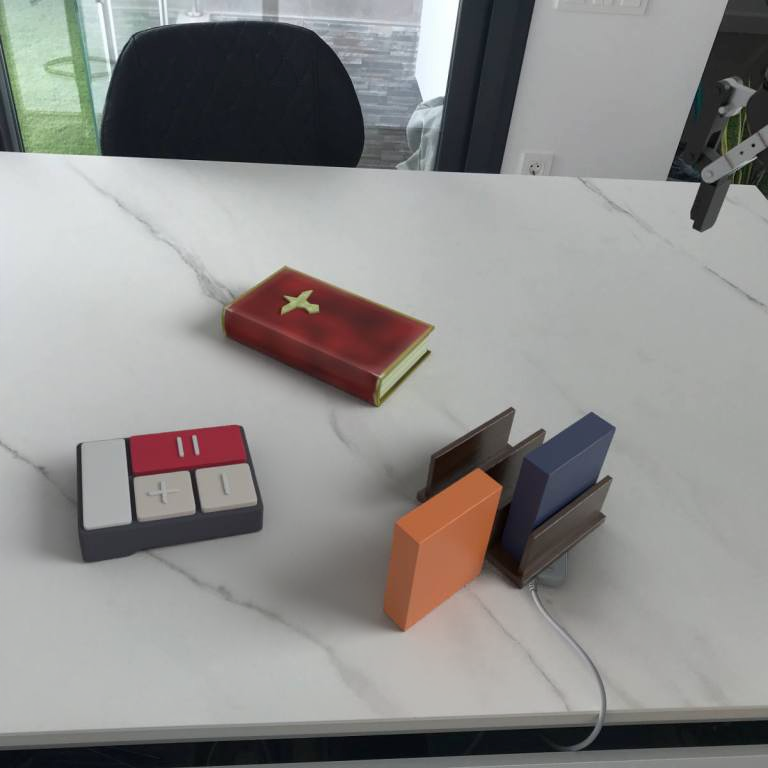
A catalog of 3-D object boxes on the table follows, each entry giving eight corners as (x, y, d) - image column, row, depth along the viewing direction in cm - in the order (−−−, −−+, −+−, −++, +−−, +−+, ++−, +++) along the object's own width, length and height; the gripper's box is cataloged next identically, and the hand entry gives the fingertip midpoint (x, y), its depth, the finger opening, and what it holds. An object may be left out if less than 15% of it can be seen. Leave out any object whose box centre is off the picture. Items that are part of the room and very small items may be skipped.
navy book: (584, 514, 72) (616, 427, 65) (521, 563, 67) (549, 475, 60) (562, 498, 73) (591, 411, 66) (499, 544, 68) (523, 456, 61)
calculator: (264, 502, 66) (76, 529, 61) (263, 535, 69) (82, 564, 64) (243, 417, 74) (74, 436, 69) (242, 450, 77) (80, 470, 72)
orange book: (480, 574, 67) (503, 486, 60) (404, 632, 62) (419, 544, 55) (458, 554, 68) (478, 467, 61) (382, 610, 63) (394, 521, 56)
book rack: (604, 521, 72) (621, 479, 69) (521, 589, 66) (535, 545, 62) (500, 444, 79) (511, 401, 76) (416, 498, 73) (423, 454, 69)
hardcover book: (376, 409, 82) (379, 378, 79) (222, 337, 90) (220, 307, 87) (430, 353, 90) (435, 324, 88) (285, 292, 98) (285, 263, 95)
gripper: (719, -12, 47) (642, 226, 58) (969, 55, 40) (828, 316, 50) (776, -23, 51) (695, 201, 62) (1013, 35, 44) (875, 280, 54)
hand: (755, 252), depth 56 cm, fingers open, 8 cm apart
